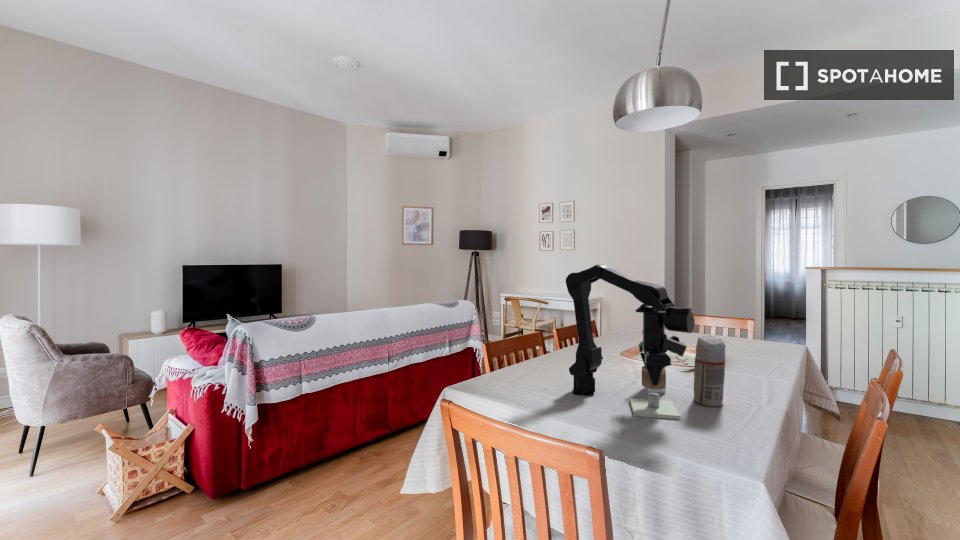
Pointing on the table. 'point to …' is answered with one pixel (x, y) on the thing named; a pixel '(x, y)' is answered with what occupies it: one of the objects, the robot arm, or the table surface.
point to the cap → (648, 383)
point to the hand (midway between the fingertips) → (653, 382)
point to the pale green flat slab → (654, 407)
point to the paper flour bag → (709, 371)
